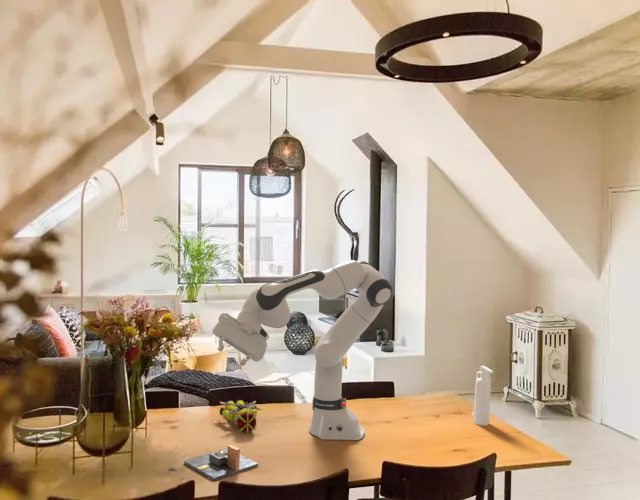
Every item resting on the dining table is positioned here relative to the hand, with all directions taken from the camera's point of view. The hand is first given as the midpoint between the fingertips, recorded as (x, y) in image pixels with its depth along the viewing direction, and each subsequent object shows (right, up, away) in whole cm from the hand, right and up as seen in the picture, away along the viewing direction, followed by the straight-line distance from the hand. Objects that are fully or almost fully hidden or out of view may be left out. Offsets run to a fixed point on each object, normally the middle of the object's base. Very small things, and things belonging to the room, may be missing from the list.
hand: (231, 357), depth 203 cm
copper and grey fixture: (-1, -36, -3) cm, 36 cm away
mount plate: (-3, -37, -1) cm, 37 cm away
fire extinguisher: (+100, -38, +53) cm, 120 cm away
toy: (-2, -36, +42) cm, 55 cm away
